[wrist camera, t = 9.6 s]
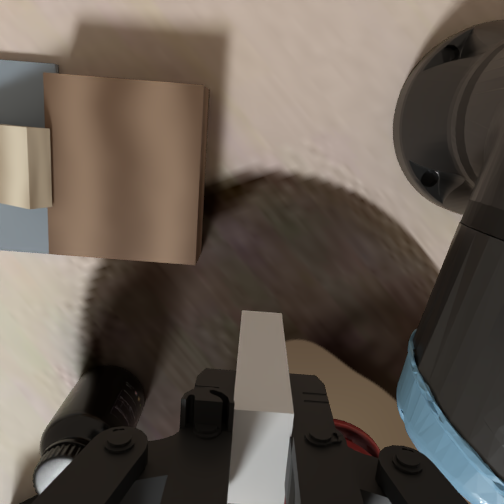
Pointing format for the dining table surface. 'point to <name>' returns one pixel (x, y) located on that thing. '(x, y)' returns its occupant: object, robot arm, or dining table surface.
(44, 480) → the supplement bottle
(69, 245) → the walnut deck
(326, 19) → the dining table surface
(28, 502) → the digital camera
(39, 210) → the rubber mat
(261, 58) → the dining table surface
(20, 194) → the birch tile
